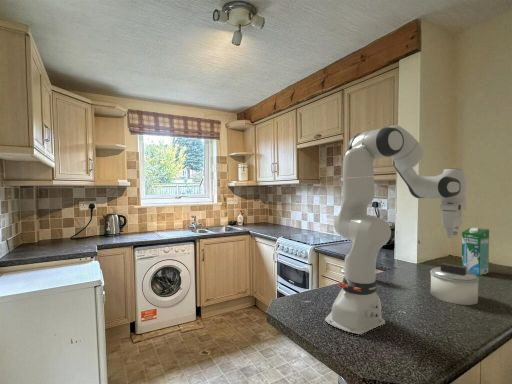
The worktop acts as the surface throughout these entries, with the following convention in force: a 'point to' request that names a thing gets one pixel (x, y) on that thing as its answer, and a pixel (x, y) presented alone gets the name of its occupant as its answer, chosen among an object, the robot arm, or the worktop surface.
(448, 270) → the lid
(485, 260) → the milk carton
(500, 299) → the worktop surface
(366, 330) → the robot arm
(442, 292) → the cooker pot
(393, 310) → the worktop surface
